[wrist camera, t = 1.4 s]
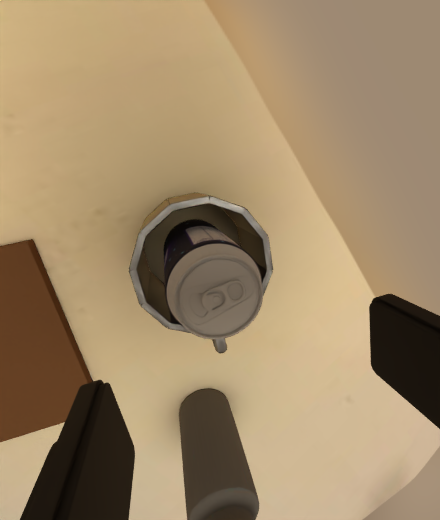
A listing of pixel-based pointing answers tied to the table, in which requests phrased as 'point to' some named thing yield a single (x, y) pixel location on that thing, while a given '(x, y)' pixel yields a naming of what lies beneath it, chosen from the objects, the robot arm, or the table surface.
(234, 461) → the bottle
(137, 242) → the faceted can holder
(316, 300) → the table surface
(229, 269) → the beverage can
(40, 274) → the mat
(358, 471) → the table surface
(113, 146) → the table surface
